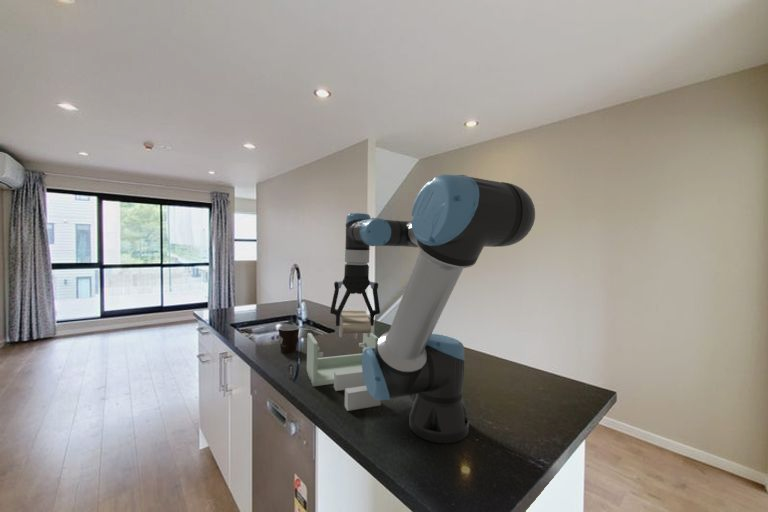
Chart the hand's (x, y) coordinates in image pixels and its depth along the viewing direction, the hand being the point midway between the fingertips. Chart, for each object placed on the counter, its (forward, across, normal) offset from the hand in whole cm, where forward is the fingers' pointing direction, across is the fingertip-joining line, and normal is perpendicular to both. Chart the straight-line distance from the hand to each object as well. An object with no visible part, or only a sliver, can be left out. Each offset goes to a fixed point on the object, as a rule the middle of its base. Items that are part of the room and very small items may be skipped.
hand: (354, 335), depth 100 cm
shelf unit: (+18, +3, -13) cm, 23 cm away
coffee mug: (+19, +25, -39) cm, 50 cm away
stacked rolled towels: (-3, 0, 0) cm, 3 cm away
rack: (+18, -1, +3) cm, 18 cm away
